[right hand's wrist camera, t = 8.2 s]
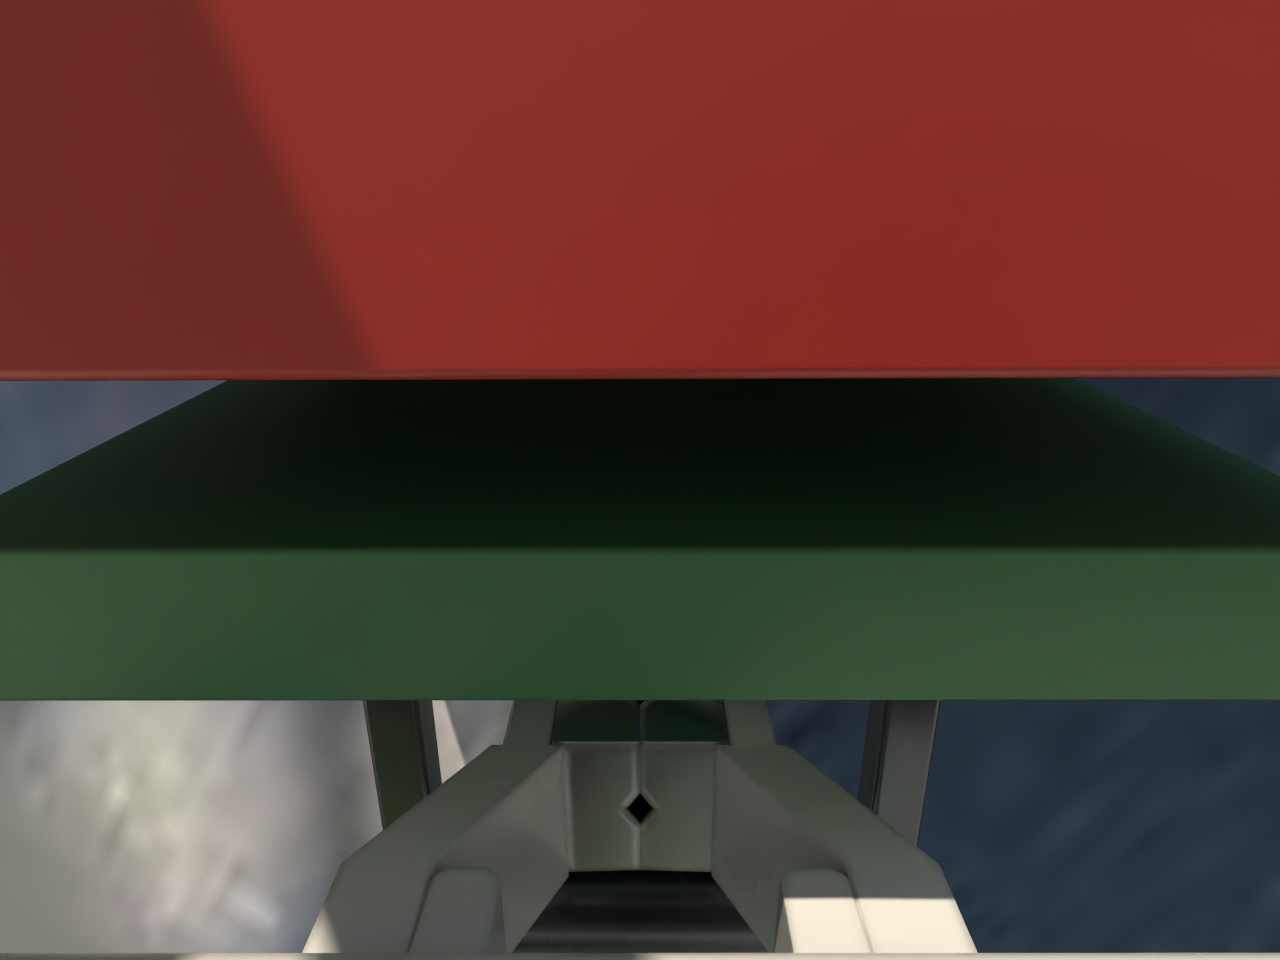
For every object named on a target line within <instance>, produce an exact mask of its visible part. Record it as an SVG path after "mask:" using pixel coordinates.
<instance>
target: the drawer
mask: <svg viewBox="0 0 1280 960" xmlns="http://www.w3.org/2000/svg"><path fill="white" fill-rule="evenodd" d="M0 700H363V705H364V711H365V718H366V724H367V731H368V737H369V744H370V750H371V756H372V763H373V769H374V776H375V782H376V788H377V795H378V801H379V808H380V814H381V821H382V827H383V830H384V829H386V828H387V827H388V826H389V825H391V824H392V823H393V822H394V821H396V820H397V819H398V818H400V817H401V816H402V815H403V814H405V813H406V812H407V811H408V810H410V809H411V808H412V807H413V806H415V805H416V804H417V803H419V802H420V801H421V800H422V799H424V798H425V797H426V796H427V795H429V794H430V793H431V792H433V791H434V790H435V789H436V788H438V787H439V786H440V785H441V784H442V781H441V773H440V764H439V756H438V747H437V739H436V730H435V722H434V713H433V705H432V700H870V703H869V712H868V720H867V728H866V737H865V745H864V753H863V761H862V770H861V778H860V786H859V794H858V800H859V801H860V802H861V803H862V804H864V805H865V806H866V807H867V808H869V809H870V810H871V811H873V812H874V813H875V814H876V815H878V816H879V817H880V818H881V819H883V820H884V821H885V822H886V823H888V824H889V825H890V826H891V827H893V828H894V829H895V830H897V831H898V832H899V833H900V834H902V835H903V836H904V837H905V838H907V839H908V840H909V841H910V842H912V843H913V844H914V845H915V846H917V844H918V838H919V831H920V825H921V819H922V812H923V806H924V800H925V794H926V787H927V781H928V775H929V768H930V762H931V756H932V750H933V743H934V737H935V731H936V724H937V718H938V712H939V706H940V700H1280V477H1279V476H1277V475H1275V474H1273V473H1271V472H1269V471H1266V470H1264V469H1262V468H1260V467H1258V466H1256V465H1254V464H1252V463H1250V462H1248V461H1246V460H1244V459H1241V458H1239V457H1237V456H1235V455H1233V454H1231V453H1229V452H1227V451H1225V450H1223V449H1221V448H1219V447H1217V446H1214V445H1212V444H1210V443H1208V442H1206V441H1204V440H1202V439H1200V438H1198V437H1196V436H1194V435H1192V434H1189V433H1187V432H1185V431H1183V430H1181V429H1179V428H1177V427H1175V426H1173V425H1171V424H1169V423H1167V422H1164V421H1162V420H1160V419H1158V418H1156V417H1154V416H1152V415H1150V414H1148V413H1146V412H1144V411H1142V410H1139V409H1137V408H1135V407H1133V406H1131V405H1129V404H1127V403H1125V402H1123V401H1121V400H1119V399H1117V398H1115V397H1112V396H1110V395H1108V394H1106V393H1104V392H1102V391H1100V390H1098V389H1096V388H1094V387H1092V386H1090V385H1087V384H1085V383H1083V382H1081V381H1079V380H1077V379H1075V378H829V379H460V380H228V381H226V382H224V383H222V384H220V385H218V386H216V387H214V388H212V389H210V390H208V391H206V392H204V393H202V394H200V395H198V396H196V397H194V398H192V399H190V400H188V401H186V402H184V403H182V404H180V405H178V406H176V407H174V408H172V409H170V410H168V411H166V412H164V413H162V414H160V415H158V416H156V417H154V418H152V419H150V420H148V421H146V422H144V423H142V424H140V425H138V426H136V427H134V428H132V429H130V430H128V431H126V432H124V433H122V434H120V435H118V436H116V437H114V438H112V439H110V440H108V441H106V442H104V443H102V444H100V445H98V446H96V447H94V448H92V449H90V450H88V451H86V452H84V453H82V454H80V455H78V456H76V457H74V458H72V459H70V460H69V461H67V462H65V463H63V464H61V465H59V466H57V467H55V468H53V469H51V470H49V471H47V472H45V473H43V474H41V475H39V476H37V477H35V478H33V479H31V480H29V481H27V482H25V483H23V484H21V485H19V486H17V487H15V488H13V489H11V490H9V491H7V492H5V493H3V494H1V495H0ZM711 873H712V872H697V871H661V870H617V871H583V872H569V876H568V878H567V879H566V880H565V882H564V883H563V884H562V886H561V887H560V888H559V890H558V891H557V893H556V894H555V895H554V897H553V898H552V899H551V901H550V902H549V903H548V905H547V906H546V907H545V909H544V910H543V911H542V913H541V914H540V915H539V917H538V918H537V919H536V921H535V922H534V923H533V925H532V926H531V927H530V929H529V930H528V931H527V933H526V934H525V936H524V937H523V938H522V940H521V941H520V942H519V944H518V945H517V946H516V948H515V949H514V950H513V952H512V953H769V952H768V951H767V950H766V948H765V947H764V946H763V944H762V943H761V942H760V940H759V939H758V938H757V936H756V935H755V934H754V932H753V931H752V930H751V928H750V927H749V925H748V924H747V923H746V921H745V920H744V919H743V917H742V916H741V915H740V913H739V912H738V911H737V909H736V908H735V907H734V905H733V904H732V903H731V901H730V900H729V898H728V897H727V896H726V894H725V893H724V892H723V890H722V889H721V888H720V886H719V885H718V884H717V882H716V881H715V880H714V878H713V877H712V875H711Z"/></svg>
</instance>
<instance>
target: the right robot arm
mask: <svg viewBox="0 0 1280 960" xmlns="http://www.w3.org/2000/svg"><path fill="white" fill-rule="evenodd" d="M617 870H661V871H697V872H712V873H711V875H712V877H713V878H714V880H715V881H716V882H717V884H718V885H719V886H720V888H721V889H722V890H723V892H724V893H725V894H726V896H727V897H728V898H729V900H730V901H731V903H732V904H733V905H734V907H735V908H736V909H737V911H738V912H739V913H740V915H741V916H742V917H743V919H744V920H745V921H746V923H747V924H748V925H749V927H750V928H751V930H752V931H753V932H754V934H755V935H756V936H757V938H758V939H759V940H760V942H761V943H762V944H763V946H764V947H765V948H766V950H767V951H768V952H769V953H512V952H513V950H514V949H515V948H516V946H517V945H518V944H519V942H520V941H521V940H522V938H523V937H524V936H525V934H526V933H527V931H528V930H529V929H530V927H531V926H532V925H533V923H534V922H535V921H536V919H537V918H538V917H539V915H540V914H541V913H542V911H543V910H544V909H545V907H546V906H547V905H548V903H549V902H550V901H551V899H552V898H553V897H554V895H555V894H556V893H557V891H558V890H559V888H560V887H561V886H562V884H563V883H564V882H565V880H566V879H567V878H568V876H569V872H583V871H617ZM0 960H1280V953H978V952H977V950H976V948H975V945H974V943H973V941H972V939H971V936H970V934H969V932H968V929H967V927H966V925H965V922H964V920H963V918H962V915H961V913H960V911H959V909H958V906H957V904H956V902H955V899H954V897H953V895H952V892H951V890H950V888H949V885H948V883H947V881H946V879H945V876H944V874H943V872H942V869H941V867H940V865H939V864H938V863H937V862H936V861H934V860H933V859H932V858H931V857H929V856H928V855H927V854H926V853H924V852H923V851H922V850H920V849H919V848H918V847H917V846H915V845H914V844H913V843H912V842H910V841H909V840H908V839H907V838H905V837H904V836H903V835H902V834H900V833H899V832H898V831H897V830H895V829H894V828H893V827H891V826H890V825H889V824H888V823H886V822H885V821H884V820H883V819H881V818H880V817H879V816H878V815H876V814H875V813H874V812H873V811H871V810H870V809H869V808H867V807H866V806H865V805H864V804H862V803H861V802H860V801H859V800H857V799H856V798H855V797H854V796H852V795H851V794H850V793H849V792H847V791H846V790H845V789H843V788H842V787H841V786H840V785H838V784H837V783H836V782H835V781H833V780H832V779H831V778H830V777H828V776H827V775H826V774H825V773H823V772H822V771H821V770H819V769H818V768H817V767H816V766H814V765H813V764H812V763H811V762H809V761H808V760H807V759H806V758H804V757H803V756H802V755H801V754H799V753H798V752H797V751H795V750H794V749H793V748H792V747H790V746H789V745H777V742H776V738H775V734H774V730H773V726H772V722H771V718H770V714H769V710H768V706H767V702H766V700H514V701H513V705H512V709H511V713H510V717H509V722H508V726H507V730H506V734H505V738H504V742H503V745H491V746H490V747H488V748H487V749H486V750H485V751H483V752H482V753H481V754H479V755H478V756H477V757H476V758H474V759H473V760H472V761H471V762H469V763H468V764H467V765H466V766H464V767H463V768H462V769H460V770H459V771H458V772H457V773H455V774H454V775H453V776H452V777H450V778H449V779H448V780H446V781H445V782H444V783H443V784H441V785H440V786H439V787H438V788H436V789H435V790H434V791H433V792H431V793H430V794H429V795H427V796H426V797H425V798H424V799H422V800H421V801H420V802H419V803H417V804H416V805H415V806H413V807H412V808H411V809H410V810H408V811H407V812H406V813H405V814H403V815H402V816H401V817H400V818H398V819H397V820H396V821H394V822H393V823H392V824H391V825H389V826H388V827H387V828H386V829H384V830H383V831H382V832H380V833H379V834H378V835H377V836H375V837H374V838H373V839H372V840H370V841H369V842H368V843H367V844H365V845H364V846H363V847H361V848H360V849H359V850H358V851H356V852H355V853H354V854H353V855H351V856H350V857H349V858H348V859H346V860H345V861H344V862H342V863H341V866H340V868H339V870H338V873H337V875H336V877H335V879H334V882H333V884H332V886H331V888H330V891H329V893H328V895H327V898H326V900H325V902H324V904H323V907H322V909H321V911H320V914H319V916H318V918H317V920H316V923H315V925H314V927H313V929H312V932H311V934H310V936H309V939H308V941H307V943H306V945H305V948H304V950H303V952H302V953H0Z"/></svg>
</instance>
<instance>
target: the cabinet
mask: <svg viewBox="0 0 1280 960" xmlns="http://www.w3.org/2000/svg"><path fill="white" fill-rule="evenodd" d="M1199 377H1280V0H0V381H91V380H460V379H829V378H1199Z"/></svg>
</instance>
